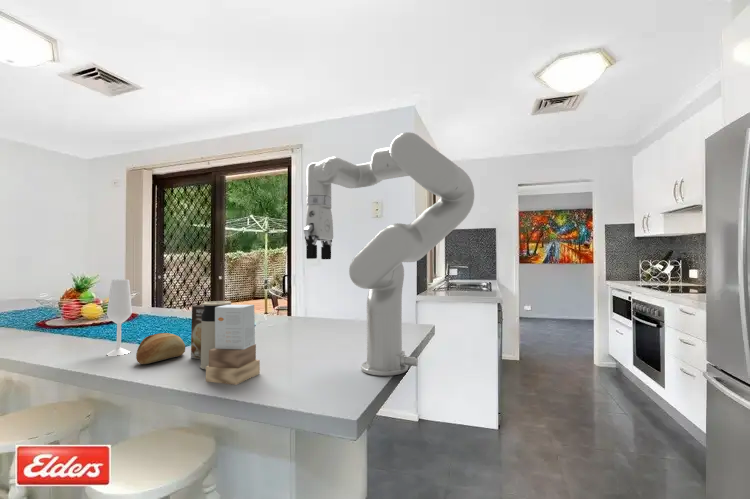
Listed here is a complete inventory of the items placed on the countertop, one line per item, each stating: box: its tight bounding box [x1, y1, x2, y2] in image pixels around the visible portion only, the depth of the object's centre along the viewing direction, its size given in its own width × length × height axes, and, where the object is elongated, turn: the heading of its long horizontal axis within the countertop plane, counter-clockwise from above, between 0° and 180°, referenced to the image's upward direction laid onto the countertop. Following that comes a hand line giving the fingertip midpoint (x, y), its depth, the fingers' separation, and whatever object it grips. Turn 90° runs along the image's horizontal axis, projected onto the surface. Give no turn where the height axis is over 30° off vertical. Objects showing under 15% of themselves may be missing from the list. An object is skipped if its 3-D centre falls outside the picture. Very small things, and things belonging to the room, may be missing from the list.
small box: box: [215, 304, 256, 350], centre depth 91 cm, size 8×6×10 cm
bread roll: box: [135, 332, 186, 365], centre depth 107 cm, size 10×15×8 cm, turn 164°
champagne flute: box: [106, 279, 133, 357], centre depth 116 cm, size 7×7×24 cm
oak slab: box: [205, 359, 261, 386], centre depth 90 cm, size 9×9×4 cm
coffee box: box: [190, 304, 205, 360], centre depth 111 cm, size 9×6×16 cm
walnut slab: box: [209, 343, 257, 368], centre depth 90 cm, size 8×8×4 cm
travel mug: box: [200, 300, 233, 371], centre depth 100 cm, size 8×8×18 cm
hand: (319, 258), depth 109 cm, fingers open, 9 cm apart
